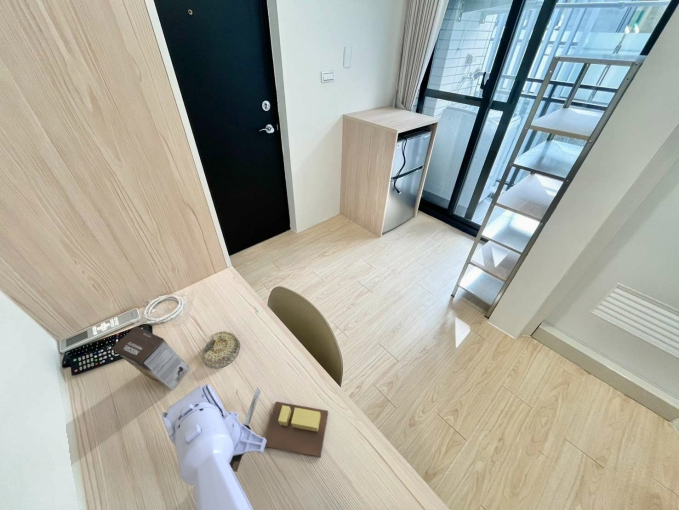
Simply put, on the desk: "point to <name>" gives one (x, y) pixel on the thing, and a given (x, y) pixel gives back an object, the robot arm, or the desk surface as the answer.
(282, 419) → the butter pat
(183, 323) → the desk surface
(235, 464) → the knife
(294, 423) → the butter
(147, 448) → the desk surface
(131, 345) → the coffee box
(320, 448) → the butter board
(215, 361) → the ammonite fossil
